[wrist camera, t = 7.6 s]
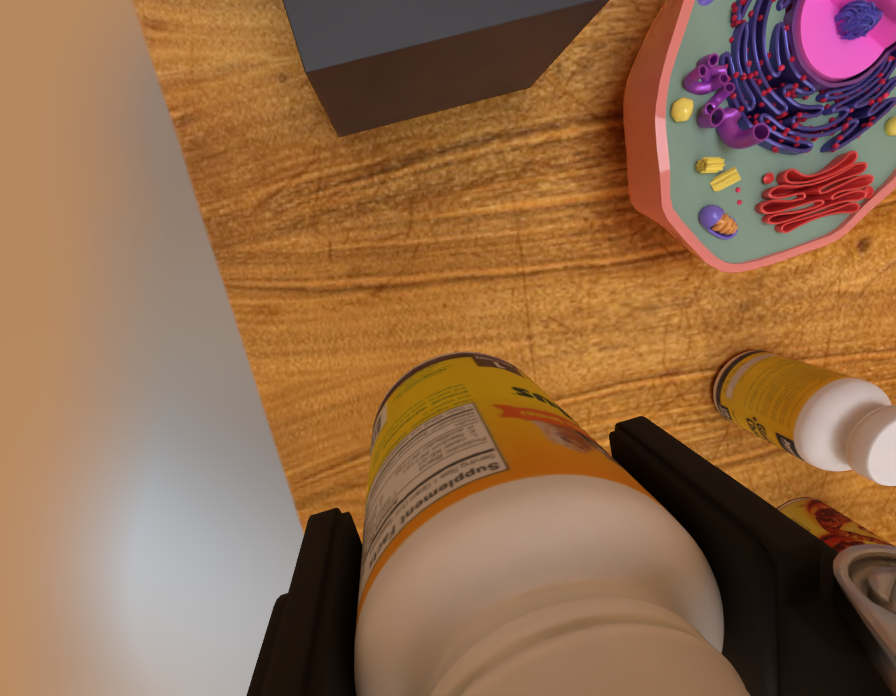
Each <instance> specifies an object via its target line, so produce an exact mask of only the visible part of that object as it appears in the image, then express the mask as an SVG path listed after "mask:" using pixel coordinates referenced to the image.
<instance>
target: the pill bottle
mask: <svg viewBox="0 0 896 696" xmlns="http://www.w3.org/2000/svg"><path fill="white" fill-rule="evenodd" d="M713 398H714V402H715V405H716V408H717V409H718V411H719V412H720V414H721V415H722V416H723V417H725V418H726V419H727V420H729V421H731V422H732V423H734V424H736V425H738V426H740V427H742V428H744V429H746V430H748V431H749V432H751V433H753V434H755V435H757V436H759V437H761V438H762V439H764V440H766V441H768V442H770V443H772V444H774V445H775V446H777V447H779V448H781V449H783V450H785V451H787V452H789V453H790V454H792V455H794V456H796V457H798V458H800V459H801V460H803V461H805V462H807V463H809V464H811V465H813V466H815V467H817V468H820V469H823V470H828V471H846V470H851V469H853V470H854V471H855V472H857V473H858V474H860V475H862V476H864V477H866V478H868V479H870V480H872V481H874V482H876V483H878V484H881V485H885V486H896V406H894V405H892V404H891V402H890V400H889V398H888V396H887V395H886V394H885V393H884V392H883V391H882V390H881V389H880V388H879V387H877V386H876V385H874V384H872V383H870V382H868V381H865V380H861V379H858V378H855V377H851V376H848V375H844V374H841V373H838V372H834V371H831V370H827V369H824V368H821V367H818V366H814V365H811V364H807V363H804V362H801V361H797V360H794V359H790V358H787V357H784V356H780V355H777V354H774V353H771V352H767V351H762V350H753V351H748V352H744V353H742V354H739V355H738V356H736V357H734V358H733V359H731V360H730V361H729V362H728V363H727V364H726V365H725V366H724V367H723V368H722V370H721V371H720V373H719V374H718V376H717V378H716V381H715V384H714V389H713Z"/></svg>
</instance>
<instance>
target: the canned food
mask: <svg viewBox="0 0 896 696" xmlns="http://www.w3.org/2000/svg"><path fill="white" fill-rule="evenodd" d="M777 510H779V511H780V512H782V513H783V514H785V515H786V516H787V517H789V518H790V519H792V520H793V521H795V522H796V523H797V524H799V525H800V526H802V527H803V528H805V529H806V530H807V531H809V532H810V533H812V534H813V535H815V536H816V537H817V538H819V539H820V540H822V541H823V542H825V543H826V544H827V545H829V546H830V547H832V548H833V549H835V550H836V551H837V552H841V551H843V550H845V549H846V548H848V547H850V546H856V545H863V544H879V545H890V546H893V545H892V544H890V543H888V542H887V541H885V540H883V539H882V538H880V537H878V536H877V535H875V534H874V533H872V532H870V531H869V530H867V529H865V528H864V527H862V526H860V525H859V524H857V523H856V522H854V521H852V520H851V519H849V518H847V517H846V516H844V515H842V514H841V513H839V512H838V511H836V510H834V509H833V508H831V507H829V506H828V505H826V504H824V503H823V502H821V501H820V500H817V499H813V498H799V499H795V500H792V501H789V502H787V503H786V504H784V505H782V506H780V507H779V508H778V509H777Z"/></svg>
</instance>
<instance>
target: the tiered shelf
mask: <svg viewBox="0 0 896 696" xmlns="http://www.w3.org/2000/svg"><path fill="white" fill-rule="evenodd" d="M608 1H609V0H283V3H284V7H285V10H286V13H287V16H288V19H289V22H290V26H291V29H292V32H293V35H294V38H295V41H296V45H297V48H298V51H299V54H300V57H301V61H302V64H303V67H304V70H305V73H306V75H307V77H308V79H309V80H310V82H311V84H312V86H313V88H314V90H315V92H316V94H317V96H318V98H319V100H320V102H321V104H322V106H323V107H324V109H325V111H326V113H327V115H328V117H329V119H330V121H331V123H332V125H333V127H334V129H335V131H336V133H337V134H338V136H339V137H342V136H345V135H349V134H353V133H357V132H361V131H365V130H368V129H372V128H376V127H380V126H384V125H388V124H391V123H395V122H399V121H403V120H407V119H411V118H415V117H418V116H422V115H426V114H430V113H434V112H438V111H441V110H445V109H449V108H453V107H457V106H461V105H464V104H468V103H472V102H476V101H480V100H484V99H487V98H491V97H495V96H499V95H503V94H507V93H510V92H514V91H518V90H522V89H526V88H530V87H531V86H532V85H533V83H534V82H535V81H536V80H537V79H538V78H539V77H540V76H541V75H542V74H543V72H544V71H545V70H546V69H547V68H548V67H549V66H550V65H551V64H552V63H553V61H554V60H555V59H556V58H557V57H558V56H559V55H560V54H561V53H562V52H563V50H564V49H565V48H566V47H567V46H568V45H569V44H570V43H571V42H572V41H573V39H574V38H575V37H576V36H577V35H578V34H579V33H580V32H581V31H582V30H583V28H584V27H585V26H586V25H587V24H588V23H589V22H590V21H591V20H592V19H593V17H594V16H595V15H596V14H597V13H598V12H599V11H600V10H601V9H602V7H603V6H604V5H605V4H606V3H607V2H608Z"/></svg>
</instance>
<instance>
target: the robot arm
mask: <svg viewBox="0 0 896 696" xmlns="http://www.w3.org/2000/svg"><path fill="white" fill-rule="evenodd" d="M609 440H610V446H611V453H612V458H613V459H614V460H615V461H616V462H617V463H618V464H619V465H620V466H621V467H623V468H624V469H625V470H626V471H627V472H628V473H629V474H630V475H631V476H632V477H633V478H634V479H635V480H636V481H637V482H638V483H639V484H640V485H641V486H642V487H643V488H644V489H645V490H646V491H648V492H649V493H650V494H651V495H652V496H653V497H654V498H655V499H656V500H657V501H658V502H659V503H660V504H661V505H662V506H663V507H664V508H665V509H666V510H667V511H668V512H669V513H670V514H671V515H672V516H673V517H674V518H675V519H676V520H677V521H678V522H679V524H680V525H681V526H682V527H683V528H684V529H685V530H686V531H687V532H688V533H689V534H690V536H691V537H692V538H693V539H694V541H695V542H696V543H697V545H698V546H699V548H700V549H701V550H702V552H703V554H704V556H705V557H706V559H707V561H708V563H709V565H710V567H711V570H712V572H713V574H714V576H715V579H716V582H717V585H718V588H719V591H720V595H721V600H722V605H723V615H724V641H723V648H722V655H723V656H724V657H725V658H726V659H727V660H728V661H729V662H730V663H731V665H732V666H733V667H734V669H735V670H736V672H737V673H738V675H739V676H740V678H741V680H742V682H743V683H744V685H745V688H746V690H747V691H748V693H749V694H750V696H896V547H895V546H890V545H879V544H863V545H856V546H850V547H848V548H846V549H845V550H843V551H841V552H837V551H836V550H835V549H833V548H832V547H830V546H829V545H827V544H826V543H825V542H823V541H822V540H820V539H819V538H817V537H816V536H815V535H813V534H812V533H810V532H809V531H807V530H806V529H805V528H803V527H802V526H800V525H799V524H797V523H796V522H795V521H793V520H792V519H790V518H789V517H787V516H786V515H785V514H783V513H782V512H780V511H779V510H777V509H776V508H775V507H773V506H772V505H770V504H769V503H767V502H766V501H765V500H763V499H762V498H760V497H759V496H757V495H756V494H755V493H753V492H752V491H750V490H749V489H747V488H746V487H745V486H743V485H742V484H740V483H739V482H737V481H736V480H735V479H733V478H732V477H730V476H729V475H727V474H726V473H725V472H723V471H722V470H720V469H719V468H717V467H716V466H714V465H713V464H711V463H710V462H708V461H707V460H705V459H704V458H703V457H701V456H700V455H698V454H697V453H695V452H694V451H693V450H691V449H690V448H688V447H687V446H685V445H684V444H683V443H681V442H680V441H678V440H677V439H675V438H674V437H673V436H671V435H670V434H668V433H667V432H665V431H664V430H663V429H661V428H660V427H658V426H657V425H655V424H654V423H653V422H651V421H650V420H648V419H647V418H645V417H643V416H639V417H636V418H633V419H629V420H626V421H623V422H619V423H617V424H616V425H615V431H613V432H611V433H610V435H609ZM361 557H362V543H361V540H360V538H359V535H358V532H357V529H356V527H355V524H354V521H353V519H352V516H351V514H350V513H349V512H345V513H341V511H340V510H339V509H338V508H334V509H331V510H327V511H324V512H321V513H317V514H314V515H311V516H310V517H309V520H308V523H307V527H306V530H305V534H304V538H303V541H302V545H301V548H300V552H299V556H298V559H297V563H296V567H295V571H294V574H293V577H292V582H291V585H290V589H289V592H288V593H286V594H283V595H281V596H280V597H279V598H278V599H277V600H276V603H275V605H274V607H273V611H272V614H271V618H270V621H269V624H268V627H267V631H266V634H265V637H264V640H263V644H262V647H261V650H260V653H259V657H258V660H257V663H256V667H255V670H254V673H253V676H252V680H251V683H250V687H249V690H248V693H247V696H356V691H355V681H354V643H355V632H356V620H357V609H358V595H359V582H360V570H361Z"/></svg>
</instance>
